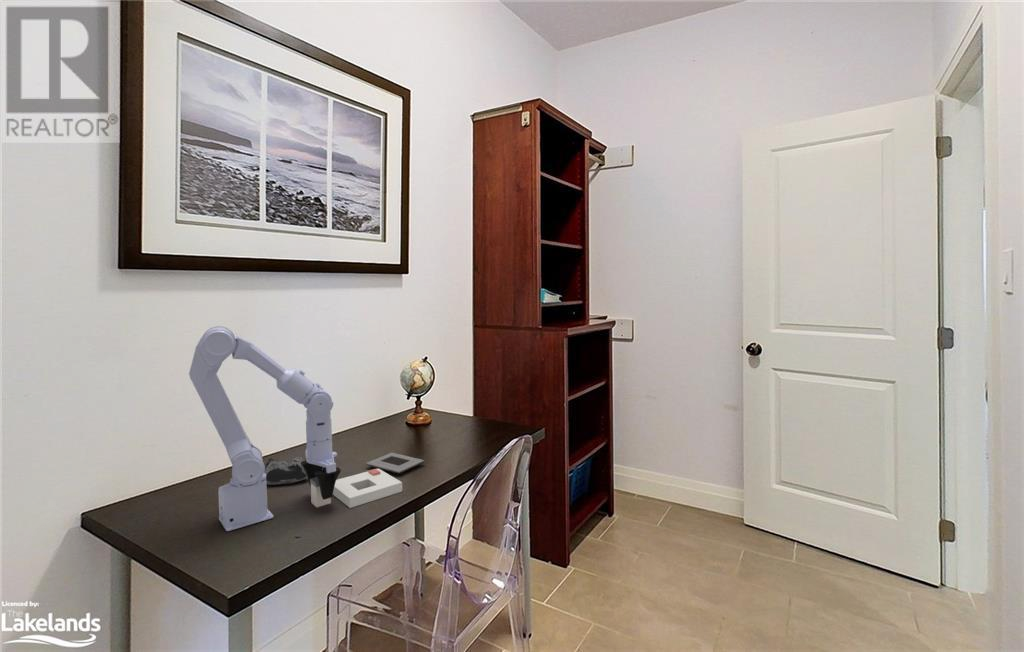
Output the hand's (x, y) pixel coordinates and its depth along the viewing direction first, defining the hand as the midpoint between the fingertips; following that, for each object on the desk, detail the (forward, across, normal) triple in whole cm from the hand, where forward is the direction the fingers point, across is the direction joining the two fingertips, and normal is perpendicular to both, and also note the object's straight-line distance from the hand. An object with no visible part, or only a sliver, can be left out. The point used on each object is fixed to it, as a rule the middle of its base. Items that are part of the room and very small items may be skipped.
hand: (321, 493), depth 117 cm
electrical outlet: (+3, +9, -25) cm, 27 cm away
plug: (+2, 0, 0) cm, 3 cm away
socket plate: (+2, -1, -11) cm, 11 cm away
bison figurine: (+3, +21, +1) cm, 21 cm away
